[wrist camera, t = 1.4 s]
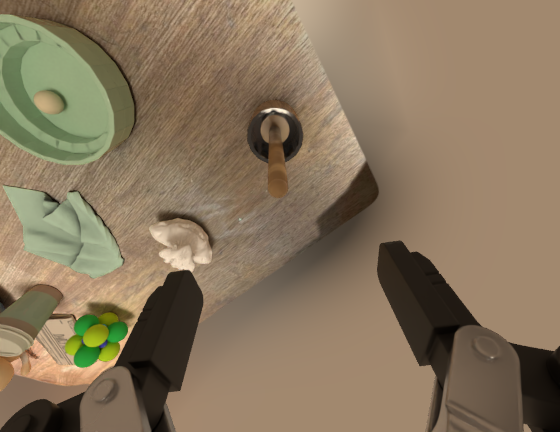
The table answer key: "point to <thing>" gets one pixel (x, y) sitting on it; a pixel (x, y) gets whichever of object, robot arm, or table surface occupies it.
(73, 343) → the molecule model
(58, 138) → the bowl
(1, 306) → the decorative rock
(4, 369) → the kitten
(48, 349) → the newspaper
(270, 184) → the wooden plunger
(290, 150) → the crock
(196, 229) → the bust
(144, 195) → the table surface
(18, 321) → the coffee cup
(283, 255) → the table surface
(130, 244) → the table surface
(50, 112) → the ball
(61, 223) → the cloth
